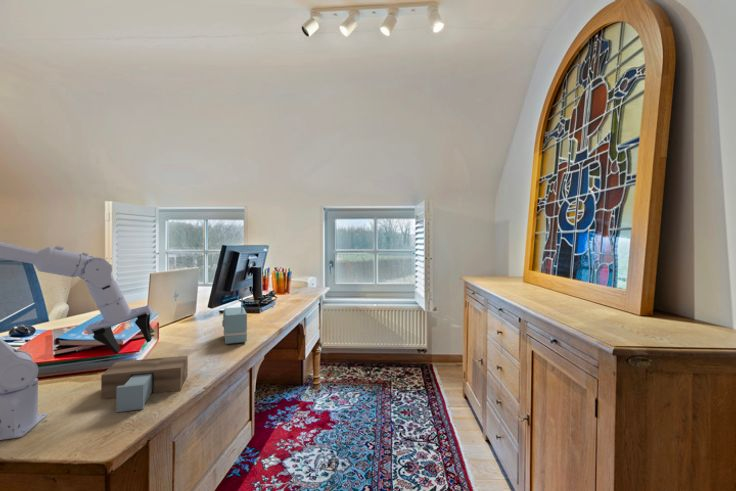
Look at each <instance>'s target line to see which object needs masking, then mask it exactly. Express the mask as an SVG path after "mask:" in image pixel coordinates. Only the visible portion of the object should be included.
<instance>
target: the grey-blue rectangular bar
mask: <svg viewBox="0 0 736 491" xmlns="http://www.w3.org/2000/svg"><path fill="white" fill-rule="evenodd" d="M153 392H154V372H152V373H141V374H134V375H133V376H132V377H131V378H130V379H129V380H128V381H127V383H126V384H125V385H122V386H118V387H117V391H116V401H115V402H116V405H115V406H116V408H115V410H116V411H115V412H116V413H121V412H130V411H135V410H136V411H137V410H144V408H145V404H146V402H147V400H148V399H149V398H150V396H151V395H152V394H153Z"/></svg>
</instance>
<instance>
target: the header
mask: <svg viewBox="0 0 736 491" xmlns="http://www.w3.org/2000/svg"><path fill="white" fill-rule="evenodd" d="M188 365H189V364H188V355H181V356H180V355H178V356H168V357H159V358H158V357H157V358H156V357H155V358H143V359H132V360H121V361H116V362H115V363H113V364H112V365H111V366H109V367H108V368H107V370H105V371H104V372H103V373H101V375H100V380H101V381H100V385H101V387H100V388H101V389H100V391H101V392H100V394H101V395H100V398H101V400H105V399H106V400H107V399H114V398H116V391H117V387H118V386H122V385H125V384H126V383H127V381H128V380H129V379H130V378H131V377H132V376H133V375H134V374H141V373H152V372H154V390H153V392H152V394H160V393H167V392H169V393H170V392H176V391H182V388H183V386H184V384H185V382H186V380H187V379H188V371H189V370H188V368H189V367H188Z"/></svg>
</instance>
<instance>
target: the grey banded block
mask: <svg viewBox="0 0 736 491" xmlns="http://www.w3.org/2000/svg"><path fill="white" fill-rule="evenodd" d="M243 298H244V297H243V293H241V300H240V301H241V306H239V307H238V306H237V307H236V306H235V307H225V308H223V309H224V310H223V311H222V313H223V314H222V321H221V323H222V324H221V325H222V327H223V336H224V343H225V344H226V345H235V344H242V343H247V340H248V335H247V334H248V313H247V312H246V309H245V308H244V306H243V304H244V302H243Z"/></svg>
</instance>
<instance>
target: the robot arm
mask: <svg viewBox="0 0 736 491" xmlns="http://www.w3.org/2000/svg"><path fill="white" fill-rule="evenodd" d="M0 259H2V260H9V261H13V262H14V261H15V262H19V263H27V264H31V265H33V266H35V269H37V271H38V272H39V273H41V272H42V273H45V274H46V273H47V274H52V275H53V274H54V275H58V276H64V277H69V278H77V277H78V278H80V279H81V280H84V282H85V285H86V286H87V288H88V292H89V294H90V295H91V298H92V299H93V301H94V303H95V305H96V307H97V308H98V311H99V312H100V314H101V316H102V319H100V320H98V321H95V322H94V323H90V324H88V325H86V327H84V329H85V331H86V333H87V335H88V336H90V335H92V334H93V336H92V338H93V340H95V341H98V342H99V343H102V344H103V345H105V347H107V348H109V349H110V350H111V351H112V352H113V353H114V354H115V355H116V354H117V355H118V354H119V352H120V350H121V347H120V344H119V343H118V340H116V337H115V335H114V333H113V329H112V327H113V326H116V325H120V324H123V323H126V322H128V321H129V322H130V321H131V320H134V319H136V320H135V321H134V323H135V324H136V326H137V327H138V329H139V330H140V331H141V333H142V335H143V337H144V339H145V341H146V343H150V342H152V338H153V337H152V333H151V327H150V326H151V325H150V324H151V323H150V322H151V321H150V320H151V314H152V313H153V308H152V306H151V304H148V305H147V304H146V305H145V306H144V305H143V306H139V307H136V308H130V306H129V303H128V302H127V300H126V298H125V296H124V294H123V292H122V290H121V289H120V286H119V285H118V283H117V280H115V278H114V275H113V274H112V272H113V265H112V264H110V262H109V261H107V259H104V258H102V257H97V256H96V257H95V256H93V255H89V253H87V252H82V253H78V252H74V251H69V250H65V249H64V246H59V245H55V247H51V246H48V247H44V248H42V249H39V250H36V249H33V248H27V247H24V246H20V245H15V244H10V243H6V242H2V241H0ZM38 375H39V366H38V364H37V363H36V362H35V361H34V360H33V358H32V356H31V355H30V353H29V352H26V351H24V350H20V349H17V348H14V347H13V346H12V345H11V344H9V342H6V341H5V340H4V339H2V338H1V337H0V441H4V440H9V439H10V440H11V439H19V438H21V437H23V436H25V435H26V434H27V433H28V432H29V431H31V430H32V429H33V428H34V427H35V426H37V425H38V423H40V422H41V421H42V420H44V419H45V418H46V417H48V413H47V412H44V413H39V378H38Z"/></svg>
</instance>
